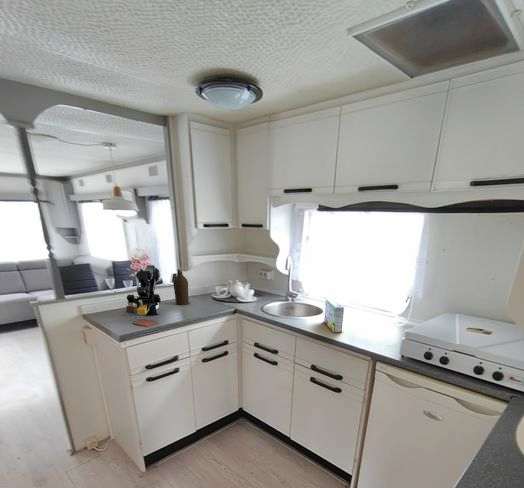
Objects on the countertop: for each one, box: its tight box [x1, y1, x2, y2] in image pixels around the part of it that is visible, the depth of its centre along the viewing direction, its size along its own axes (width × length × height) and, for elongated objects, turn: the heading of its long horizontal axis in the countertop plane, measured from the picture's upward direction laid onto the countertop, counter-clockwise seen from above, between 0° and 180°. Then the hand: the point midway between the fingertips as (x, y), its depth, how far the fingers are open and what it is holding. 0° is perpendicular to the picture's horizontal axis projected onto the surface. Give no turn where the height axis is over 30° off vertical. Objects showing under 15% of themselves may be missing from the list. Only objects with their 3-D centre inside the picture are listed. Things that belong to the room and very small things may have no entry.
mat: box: [133, 319, 157, 327], centre depth 197 cm, size 11×8×1 cm
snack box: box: [323, 298, 345, 333], centre depth 193 cm, size 21×6×15 cm, turn 5°
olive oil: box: [172, 268, 190, 306], centre depth 238 cm, size 11×11×25 cm
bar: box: [136, 305, 149, 316], centre depth 194 cm, size 11×4×3 cm, turn 7°
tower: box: [125, 301, 141, 314], centre depth 220 cm, size 7×7×7 cm
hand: (142, 310), depth 193 cm, fingers closed on bar, 4 cm apart
